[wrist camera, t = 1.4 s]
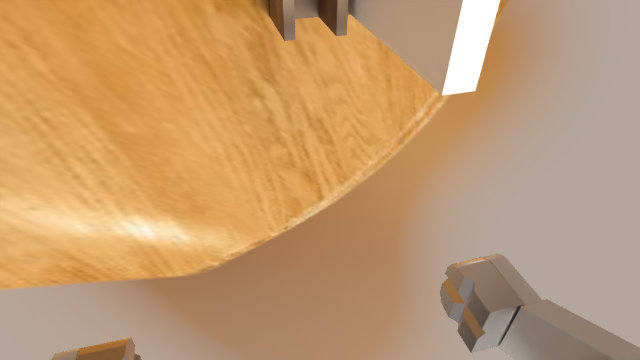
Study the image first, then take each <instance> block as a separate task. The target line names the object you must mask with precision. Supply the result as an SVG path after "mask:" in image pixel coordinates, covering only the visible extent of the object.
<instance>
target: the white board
mask: <svg viewBox="0 0 640 360" xmlns="http://www.w3.org/2000/svg"><path fill="white" fill-rule="evenodd" d="M499 2H500V0H348V12H349V13H350V14H351V15H352V16H353V17H355V18H356V19H357V20H358V21H359V22H360V23H361V24H362V25H364V26H365V27H366V28H367V29H368V30H369V31H370V32H371V33H373V34H374V35H375V36H376V37H377V38H378V39H379V40H380V41H382V42H383V43H384V44H385V45H386V46H387V47H388V48H389V49H391V50H392V51H393V52H394V53H395V54H396V55H397V56H399V57H400V58H401V59H402V60H403V61H404V62H405V63H406V64H408V65H409V66H410V67H411V68H412V69H413V70H414V71H415V72H417V73H418V74H419V75H420V76H421V77H422V78H423V79H424V80H426V81H427V82H428V83H429V84H430V85H431V86H432V87H433V88H435V89H436V90H437V91H438V92H439V93H440V94H441V95H448V94H455V93H463V92H470V91H475V89H476V86H477V82H478V78H479V75H480V71H481V68H482V63H483V60H484V57H485V53H486V49H487V46H488V42H489V39H490V35H491V31H492V28H493V24H494V20H495V17H496V13H497V9H498V6H499Z"/></svg>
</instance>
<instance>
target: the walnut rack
mask: <svg viewBox="0 0 640 360" xmlns="http://www.w3.org/2000/svg"><path fill="white" fill-rule="evenodd" d="M269 6H270V18H271V20H272V21H273V23H274V24H275V26H276V28H277V29H278V31H279V32H280V34H281V36H282V37H283V39H284V41H288V40H295V19H297V18H310V17H319V18H320V19H321V20H322V21H323V22H324V23H325V24H326V25H327V26H328V27H329V28H330V30H331V31H332V32H333V33H334V34H335V35H336V36H343V35H346V34H347V15H348V14H350V13H349V12H348V0H269Z"/></svg>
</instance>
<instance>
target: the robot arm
mask: <svg viewBox="0 0 640 360" xmlns="http://www.w3.org/2000/svg"><path fill="white" fill-rule="evenodd" d="M445 274H446V275H447V276H448V279H447V280H446V281H445V282H444V283H443V284H442V286H441V290H440V296H441V302H442V304H443V307H444V309H445V311H446V313H447V315H448V316H449V317H450V318H451V319H453V320H455V321H456V322H458V333H459V334H460V336H461V337H462V339H463V341H464V342H465V344H466V345H467V347H468V349H469V350H470V352H471V353H473V352H477V351H481V350H485V349H489V348H493V347H497V346H499V348H500V349H501V350H503V351H504V352H505V353H507V354H508V355H509V356H510V357H512V358H513V359H514V360H640V348H639V347H637V346H635V345H633V344H631V343H629V342H627V341H625V340H624V339H622V338H620V337H618V336H616V335H614V334H612V333H610V332H608V331H606V330H605V329H603V328H601V327H599V326H597V325H595V324H593V323H591V322H589V321H587V320H585V319H584V318H582V317H580V316H578V315H576V314H574V313H572V312H570V311H568V310H566V309H564V308H562V307H560V306H559V305H556V304H555V303H553V302H551V301H549V300H542V299H541V298H540V297H539V296H538V295H537V293H536V292H535V291H534V290H533V289H532V288H531V286H530V285H529V284H528V283H527V282H526V281H525V279H524V278H523V277H522V276H521V275H520V274H519V272H517V270H516V269H515V268H514V267H513V265H512V264H511V263H510V262H509V261H508V260H507V258H506V257H505V256H503V255H501V254H495V255H490V256H486V257H482V258H481V257H480V258H476V259H472V260H468V261H464V262H460V263H456V264H452V265H450V266H449V267H448V268H447V271H446V273H445ZM52 360H142V359H141V357H140V355H137V354H135V344H134V342H133V341H132V339H131V338H126V339H121V340H117V341H112V342H108V343H103V344H99V345H94V346H89V347H85V348H79V349H74V350H70V351H66V352H61V353H57V354H55V355H54V357H53V359H52Z"/></svg>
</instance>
